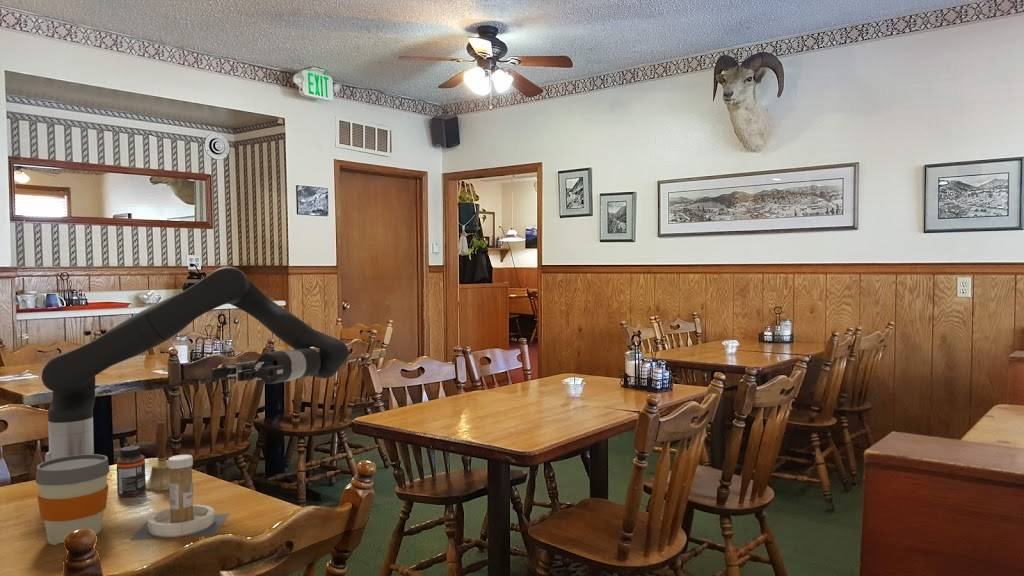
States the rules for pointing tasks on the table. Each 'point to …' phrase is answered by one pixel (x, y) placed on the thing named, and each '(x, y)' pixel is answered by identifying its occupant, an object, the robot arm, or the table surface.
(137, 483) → the supplement bottle
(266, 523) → the table surface
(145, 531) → the mat
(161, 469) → the hand bell
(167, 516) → the white round tray
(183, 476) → the sprinkles bottle
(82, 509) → the reusable coffee cup
